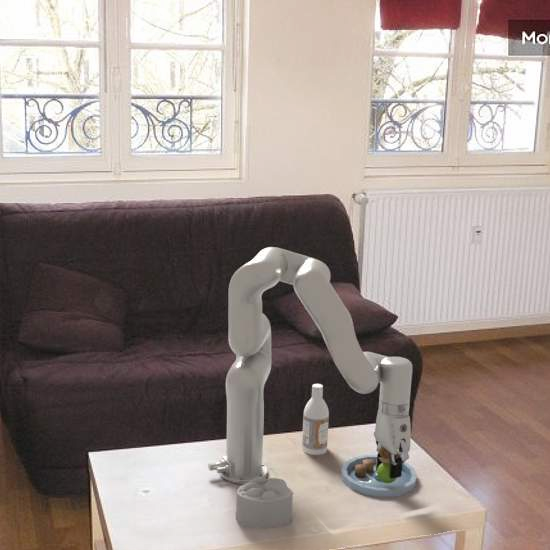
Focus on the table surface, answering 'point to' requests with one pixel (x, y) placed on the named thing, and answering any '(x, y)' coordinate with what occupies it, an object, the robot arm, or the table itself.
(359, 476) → the bead
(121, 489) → the table surface
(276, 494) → the lumpy-topped squat cylinder
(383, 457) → the snail figurine
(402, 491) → the tray
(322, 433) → the bath foam
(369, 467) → the bead
